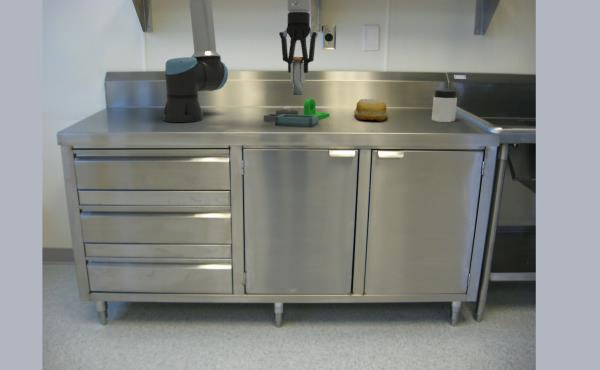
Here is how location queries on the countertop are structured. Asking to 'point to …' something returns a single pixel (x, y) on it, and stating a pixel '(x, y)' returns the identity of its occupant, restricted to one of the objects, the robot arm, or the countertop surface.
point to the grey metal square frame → (270, 117)
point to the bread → (371, 110)
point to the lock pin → (297, 76)
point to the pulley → (287, 111)
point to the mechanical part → (313, 109)
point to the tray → (296, 120)
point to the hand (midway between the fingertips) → (297, 82)
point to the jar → (444, 105)
